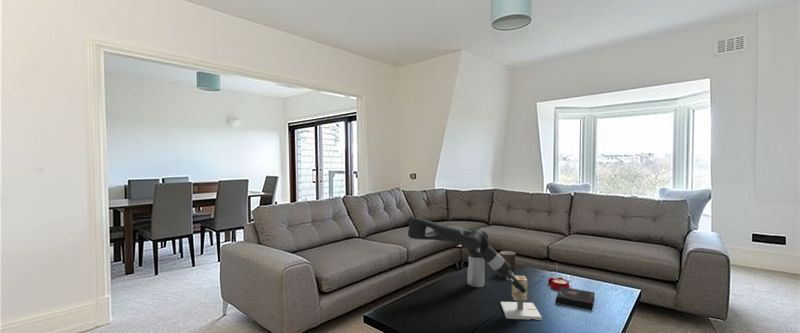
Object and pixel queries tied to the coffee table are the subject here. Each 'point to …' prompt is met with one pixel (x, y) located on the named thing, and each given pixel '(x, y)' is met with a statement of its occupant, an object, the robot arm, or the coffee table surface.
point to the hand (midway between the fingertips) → (523, 289)
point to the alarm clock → (558, 283)
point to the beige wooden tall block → (516, 292)
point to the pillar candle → (510, 259)
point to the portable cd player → (575, 298)
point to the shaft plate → (520, 310)
